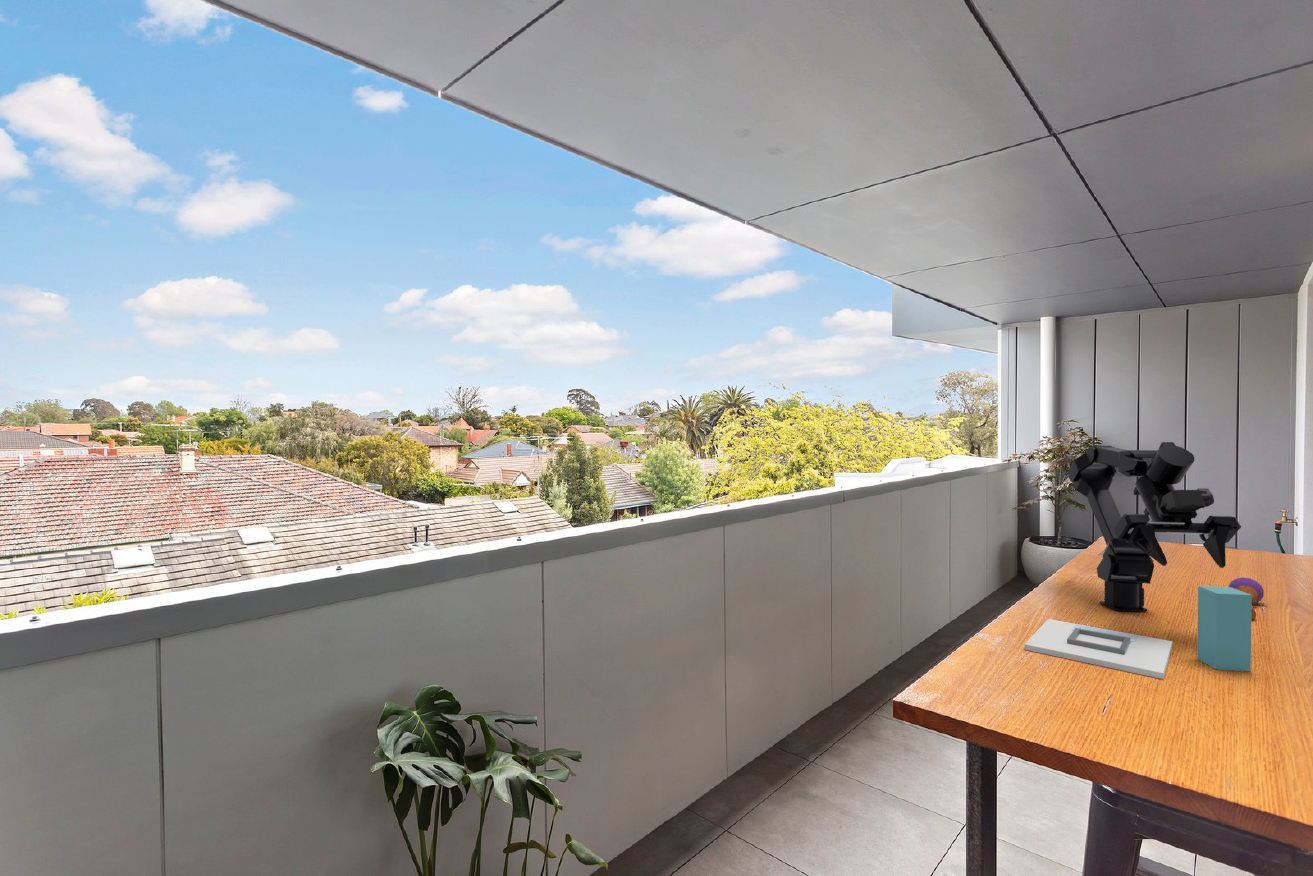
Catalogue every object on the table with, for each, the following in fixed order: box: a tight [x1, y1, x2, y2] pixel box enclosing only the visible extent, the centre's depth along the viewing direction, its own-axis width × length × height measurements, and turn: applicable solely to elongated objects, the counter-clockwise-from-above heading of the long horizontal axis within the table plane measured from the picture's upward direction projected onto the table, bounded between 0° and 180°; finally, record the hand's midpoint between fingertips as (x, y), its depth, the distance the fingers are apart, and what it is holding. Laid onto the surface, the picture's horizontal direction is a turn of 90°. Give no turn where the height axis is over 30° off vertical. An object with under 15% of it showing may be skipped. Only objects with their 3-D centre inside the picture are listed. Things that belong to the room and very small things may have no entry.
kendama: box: [1228, 577, 1265, 621], centre depth 138 cm, size 6×6×20 cm
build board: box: [1024, 618, 1173, 680], centre depth 115 cm, size 20×20×2 cm
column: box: [1196, 585, 1253, 673], centre depth 107 cm, size 5×5×13 cm
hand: (1194, 565), depth 115 cm, fingers open, 9 cm apart
